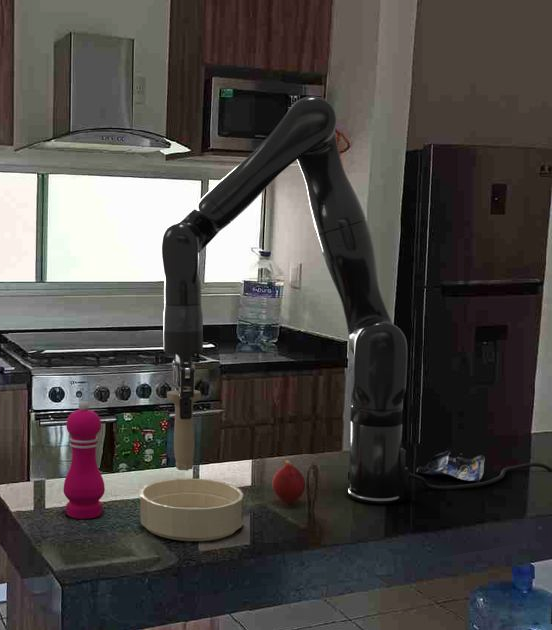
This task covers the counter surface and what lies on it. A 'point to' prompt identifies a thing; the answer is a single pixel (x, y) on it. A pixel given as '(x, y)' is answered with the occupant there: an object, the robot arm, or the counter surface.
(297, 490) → the onion
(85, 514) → the pepper mill
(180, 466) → the handle
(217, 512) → the bowl
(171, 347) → the robot arm
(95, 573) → the counter surface
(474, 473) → the snack package
